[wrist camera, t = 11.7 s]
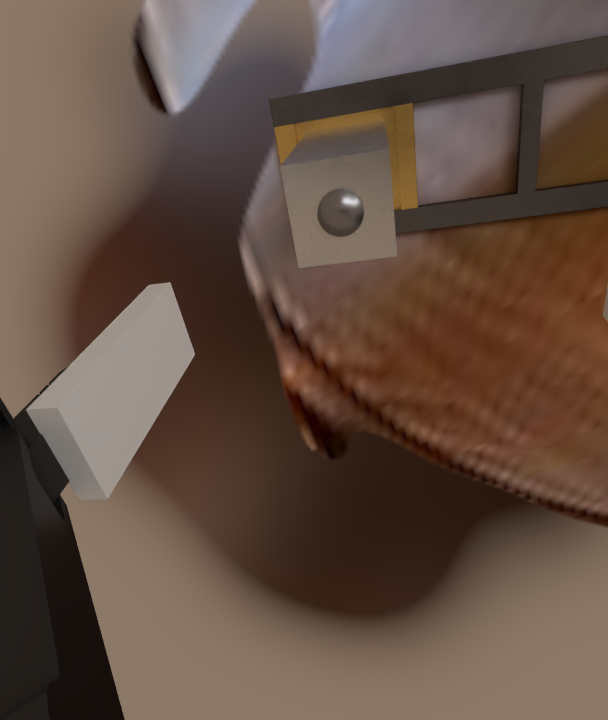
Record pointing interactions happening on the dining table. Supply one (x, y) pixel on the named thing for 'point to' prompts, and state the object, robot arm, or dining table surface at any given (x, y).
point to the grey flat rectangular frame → (401, 91)
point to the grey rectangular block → (341, 195)
